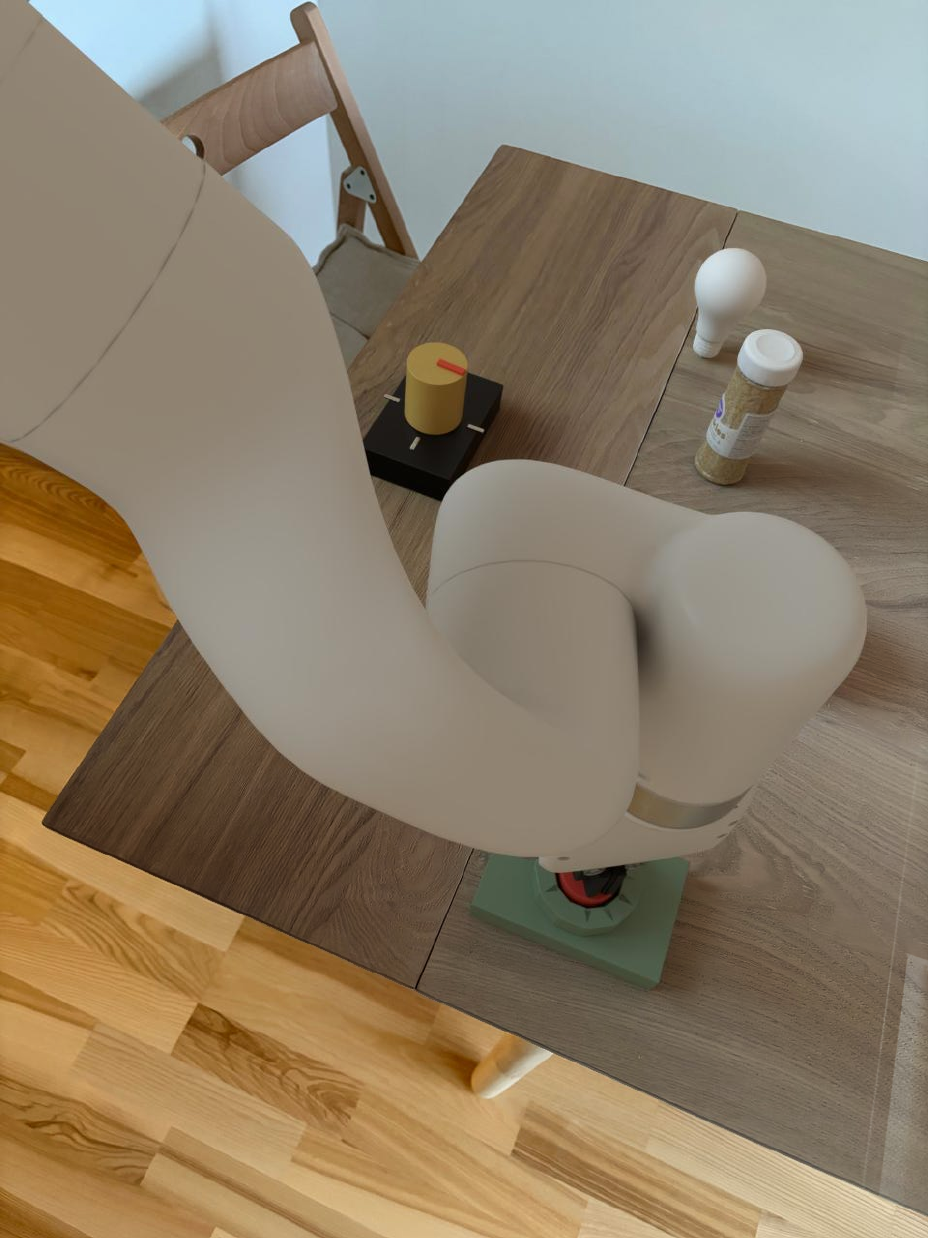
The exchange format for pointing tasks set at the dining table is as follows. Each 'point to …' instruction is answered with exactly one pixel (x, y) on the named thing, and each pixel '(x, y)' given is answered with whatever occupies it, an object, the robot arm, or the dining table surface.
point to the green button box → (588, 914)
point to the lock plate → (430, 441)
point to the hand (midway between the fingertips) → (593, 871)
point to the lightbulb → (725, 296)
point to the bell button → (578, 891)
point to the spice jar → (748, 404)
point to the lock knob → (435, 388)
